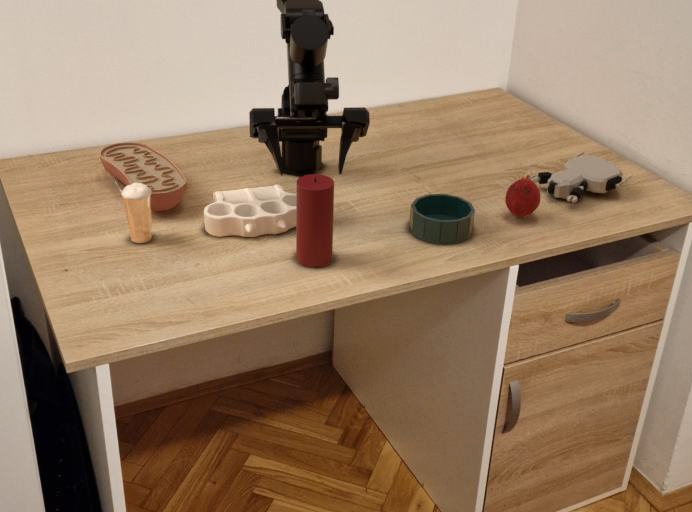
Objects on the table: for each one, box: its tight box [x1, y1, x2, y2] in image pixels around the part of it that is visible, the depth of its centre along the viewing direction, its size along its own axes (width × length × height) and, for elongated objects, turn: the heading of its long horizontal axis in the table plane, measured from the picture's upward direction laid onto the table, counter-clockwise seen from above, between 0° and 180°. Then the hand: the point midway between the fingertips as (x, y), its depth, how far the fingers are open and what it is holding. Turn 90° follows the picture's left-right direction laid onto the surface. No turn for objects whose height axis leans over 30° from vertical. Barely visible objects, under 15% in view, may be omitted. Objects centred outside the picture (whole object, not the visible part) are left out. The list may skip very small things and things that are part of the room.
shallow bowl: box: [408, 193, 476, 245], centre depth 154 cm, size 10×10×4 cm
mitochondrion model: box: [99, 141, 187, 212], centre depth 162 cm, size 23×10×5 cm, turn 33°
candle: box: [295, 173, 335, 268], centre depth 142 cm, size 6×6×14 cm
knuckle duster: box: [203, 183, 296, 238], centre depth 155 cm, size 3×18×15 cm
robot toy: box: [530, 150, 634, 204], centre depth 168 cm, size 12×4×15 cm
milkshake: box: [114, 180, 153, 244], centre depth 146 cm, size 4×5×10 cm
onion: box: [504, 173, 541, 219], centre depth 157 cm, size 6×6×8 cm
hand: (311, 174), depth 146 cm, fingers open, 9 cm apart
